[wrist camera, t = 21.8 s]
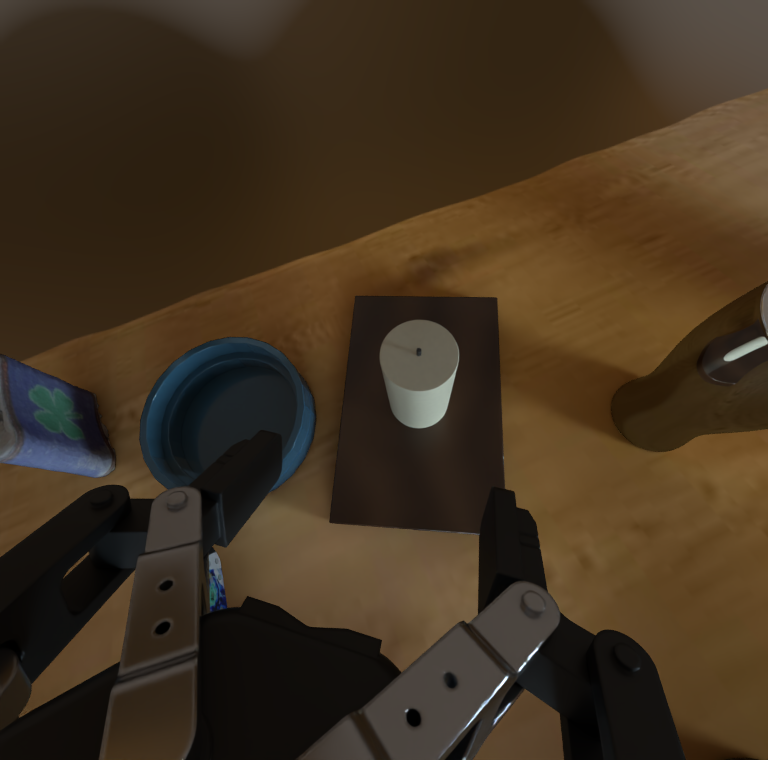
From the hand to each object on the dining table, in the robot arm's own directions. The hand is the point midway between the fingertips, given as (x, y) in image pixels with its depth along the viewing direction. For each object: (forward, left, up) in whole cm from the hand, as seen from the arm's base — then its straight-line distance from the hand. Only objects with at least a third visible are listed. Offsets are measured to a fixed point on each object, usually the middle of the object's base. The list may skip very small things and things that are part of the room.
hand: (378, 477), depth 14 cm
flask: (+28, -4, -17) cm, 33 cm away
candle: (-1, -8, -15) cm, 17 cm away
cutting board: (-1, -8, -17) cm, 19 cm away
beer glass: (-20, -8, -17) cm, 27 cm away
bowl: (+14, -6, -17) cm, 23 cm away
